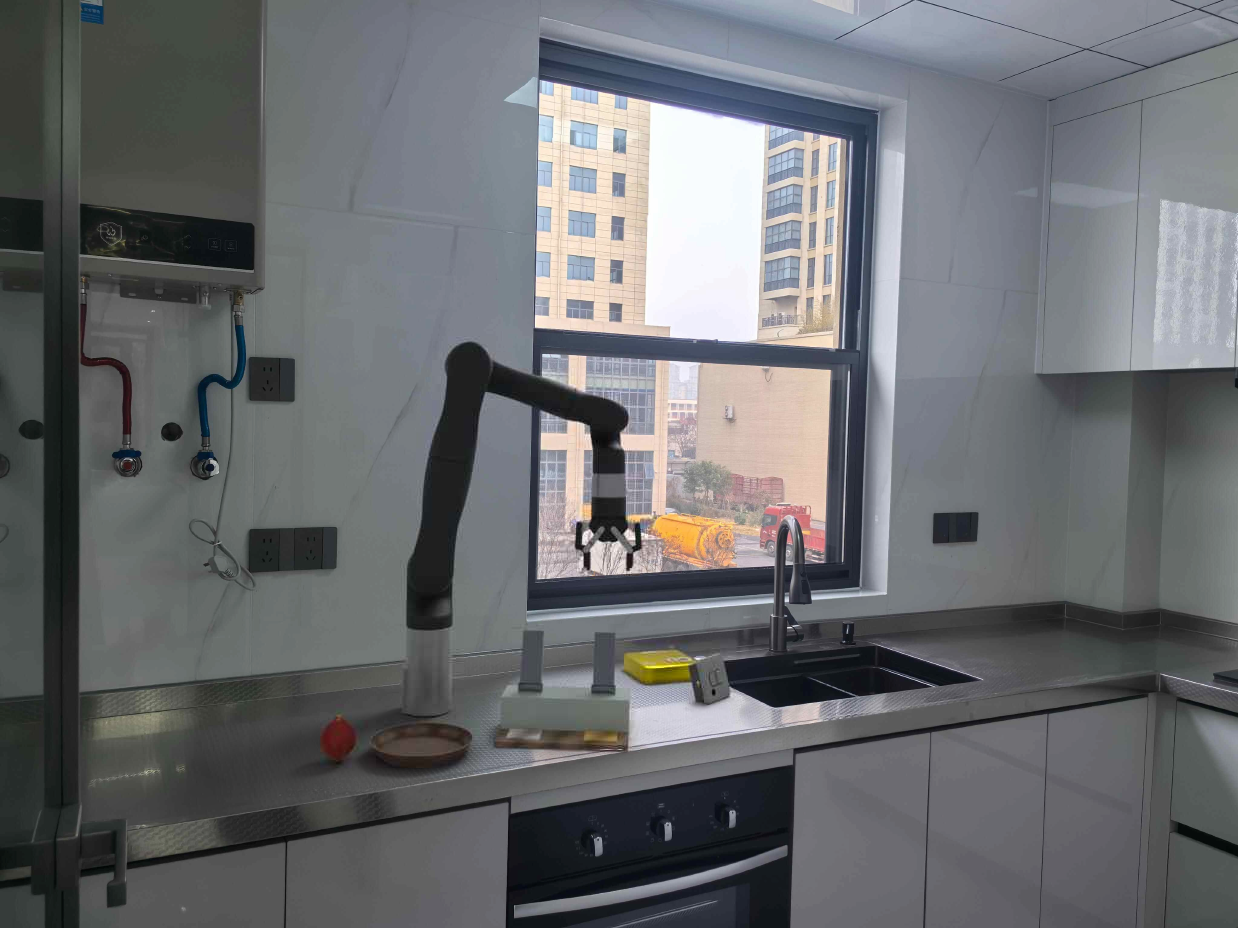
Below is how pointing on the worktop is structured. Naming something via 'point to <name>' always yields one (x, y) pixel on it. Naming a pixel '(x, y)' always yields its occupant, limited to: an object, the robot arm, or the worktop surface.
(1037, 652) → the worktop surface
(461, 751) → the plant saucer
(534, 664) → the left lever
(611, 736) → the brown rectangular board
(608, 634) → the right lever
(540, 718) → the block
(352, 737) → the onion
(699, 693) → the electrical switch
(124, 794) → the worktop surface
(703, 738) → the worktop surface
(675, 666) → the element tile
